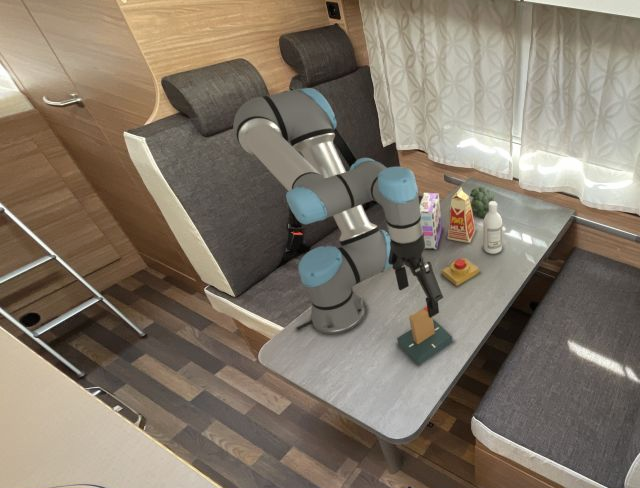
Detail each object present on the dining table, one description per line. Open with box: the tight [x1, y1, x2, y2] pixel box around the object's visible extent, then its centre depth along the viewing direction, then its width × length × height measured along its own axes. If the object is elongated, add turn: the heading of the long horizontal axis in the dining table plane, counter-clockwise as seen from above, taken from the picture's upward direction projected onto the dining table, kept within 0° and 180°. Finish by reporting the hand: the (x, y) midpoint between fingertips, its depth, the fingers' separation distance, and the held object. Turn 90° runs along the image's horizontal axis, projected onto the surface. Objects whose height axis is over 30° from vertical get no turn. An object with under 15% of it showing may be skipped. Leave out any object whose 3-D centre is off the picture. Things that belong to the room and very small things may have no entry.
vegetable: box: [469, 186, 495, 219], centre depth 167 cm, size 12×13×15 cm
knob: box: [408, 305, 435, 344], centre depth 112 cm, size 6×2×10 cm, turn 135°
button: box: [454, 258, 466, 269], centre depth 138 cm, size 4×4×2 cm
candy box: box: [419, 192, 443, 250], centre depth 150 cm, size 14×6×16 cm, turn 179°
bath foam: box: [482, 200, 504, 255], centre depth 146 cm, size 7×7×20 cm
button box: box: [441, 257, 480, 287], centre depth 140 cm, size 10×8×4 cm
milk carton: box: [447, 186, 476, 244], centre depth 152 cm, size 9×9×20 cm
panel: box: [396, 318, 453, 366], centre depth 116 cm, size 12×10×3 cm
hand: (418, 300), depth 105 cm, fingers open, 13 cm apart
